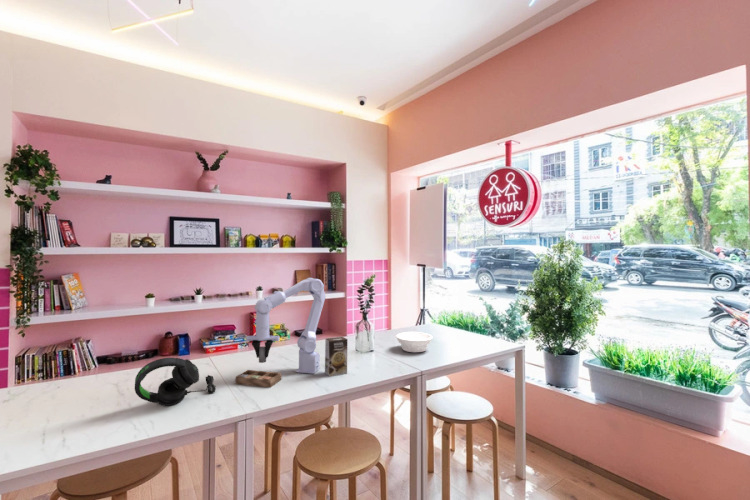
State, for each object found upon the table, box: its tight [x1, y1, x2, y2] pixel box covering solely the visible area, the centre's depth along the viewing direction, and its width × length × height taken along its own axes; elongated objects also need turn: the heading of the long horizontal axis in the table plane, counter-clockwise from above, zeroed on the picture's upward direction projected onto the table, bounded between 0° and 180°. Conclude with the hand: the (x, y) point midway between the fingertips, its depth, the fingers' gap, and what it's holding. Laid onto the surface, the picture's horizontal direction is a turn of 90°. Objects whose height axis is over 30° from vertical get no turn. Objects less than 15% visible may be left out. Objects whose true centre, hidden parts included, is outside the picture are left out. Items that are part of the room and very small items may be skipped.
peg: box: [258, 345, 267, 364], centre depth 155 cm, size 3×3×6 cm
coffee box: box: [324, 336, 348, 377], centre depth 162 cm, size 9×6×16 cm
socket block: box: [235, 369, 282, 388], centre depth 151 cm, size 17×9×3 cm, turn 77°
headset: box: [134, 357, 217, 407], centre depth 131 cm, size 18×14×29 cm
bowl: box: [395, 331, 434, 353], centre depth 201 cm, size 21×21×8 cm
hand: (262, 357), depth 155 cm, fingers closed on peg, 3 cm apart
